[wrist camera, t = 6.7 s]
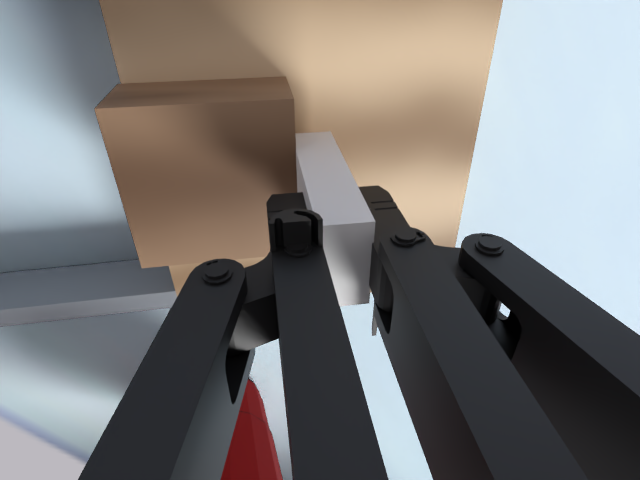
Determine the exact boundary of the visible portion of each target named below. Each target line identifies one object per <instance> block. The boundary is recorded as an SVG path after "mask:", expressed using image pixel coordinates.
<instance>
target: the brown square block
mask: <svg viewBox="0 0 640 480" xmlns="http://www.w3.org/2000/svg"><path fill="white" fill-rule="evenodd" d="M94 110H95V113H96V116H97V120H98V123H99V126H100V130H101V133H102V137H103V140H104V143H105V147H106V150H107V153H108V157H109V160H110V163H111V167H112V170H113V173H114V177H115V180H116V184H117V187H118V190H119V194H120V197H121V200H122V204H123V207H124V210H125V214H126V217H127V221H128V224H129V227H130V231H131V234H132V237H133V241H134V244H135V247H136V251H137V254H138V257H139V261H140V264H141V268H151V267H162V266H172V265H183V264H193V263H203V262H206V261H209V260H213V259H223V258H226V259H231V260H236V259H246V258H257V257H266V256H267V255H268V253H269V252H270V242H269V230H268V219H267V207H266V202H267V201H268V199H269V198H270V196H271V195H272V194H284V193H297V169H296V134H295V109H294V97H293V94H292V92H291V89H290V86H289V84H288V81H287V78H286V76H284V77H261V78H238V79H216V80H193V81H170V82H147V83H125V84H117V85H116V86H115V87H114V88H113V89H112V90H111V91H110V93H109V94H108V95H107V96H106V97H105V98H104V99H103V100H102V101H101V102H100V103H99V104H98V105H97V106H96V107H95V109H94Z"/></svg>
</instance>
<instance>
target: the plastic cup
mask: <svg viewBox="0 0 640 480" xmlns="http://www.w3.org/2000/svg"><path fill="white" fill-rule="evenodd" d="M221 480H283V479H282V474H281V470H280V466H279V462H278V457H277V453H276V449H275V445H274V440H273V436H272V433H271V431H270V429H269V426H268V422H267V417H266V413H265V409H264V404H263V400H262V398H261V396H260V394H259V391H258V389H257V387H256V386H255V384H254V383H253V382H252V381H250V380H249V379H248V381H247V385H246V388H245V392H244V396H243V399H242V403H241V406H240V410H239V414H238V417H237V421H236V425H235V428H234V432H233V436H232V439H231V443H230V447H229V450H228V454H227V458H226V461H225V465H224V469H223V472H222V476H221Z"/></svg>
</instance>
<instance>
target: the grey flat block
mask: <svg viewBox="0 0 640 480" xmlns="http://www.w3.org/2000/svg"><path fill="white" fill-rule="evenodd" d="M176 298H177V295H176V292H175V288H174V284H173V280H172V276H171V273H170V269H169V266H162V267H151V268H141V264H140V261H139V260H129V261H118V262H108V263H98V264H88V265H78V266H68V267H58V268H47V269H37V270H27V271H17V272H7V273H0V327H3V326H12V325H21V324H30V323H38V322H47V321H56V320H65V319H74V318H83V317H92V316H101V315H110V314H118V313H127V312H136V311H145V310H154V309H163V308H171V307H172V306H173V304H174V302H175V300H176Z"/></svg>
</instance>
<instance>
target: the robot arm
mask: <svg viewBox="0 0 640 480" xmlns="http://www.w3.org/2000/svg"><path fill="white" fill-rule="evenodd" d="M295 134H296V169H297V193H284V194H272V195H271V196H270V198H269V199H268V201H267V202H266V207H267V219H268V230H269V242H270V252H269V253H268V255H267V256H266V257H265V258H264V259H263V260H261V261H260V262H258V263H256V264H254V265H251V266H248V267H245V268H244V267H243V265H242V264H241V263H239V262H237V261H235V260H231V259H226V258H223V259H213V260H209V261H206V262H203V263H202V264H200V265H198V266H197V267H195V268H194V269H193V271H192V272H191V273H190V274H189V276H188V278H187V280H186V282H185V284H184V285H183V287H182V289H181V291H180V293H179V295H178V296H177V298H176V300H175V302H174V304H173V306H172V307H171V309H170V311H169V313H168V315H167V317H166V318H165V320H164V322H163V324H162V326H161V328H160V330H159V331H158V333H157V335H156V337H155V339H154V341H153V342H152V344H151V346H150V348H149V350H148V352H147V353H146V355H145V357H144V359H143V361H142V363H141V364H140V366H139V368H138V370H137V372H136V374H135V376H134V377H133V379H132V381H131V383H130V385H129V387H128V388H127V390H126V392H125V394H124V396H123V398H122V399H121V401H120V403H119V405H118V407H117V409H116V410H115V412H114V414H113V416H112V418H111V420H110V422H109V423H108V425H107V427H106V429H105V431H104V433H103V434H102V436H101V438H100V440H99V442H98V444H97V445H96V447H95V449H94V451H93V453H92V455H91V456H90V458H89V460H88V462H87V464H86V466H85V468H84V470H83V471H82V473H81V475H80V477H79V479H78V480H221V476H222V472H223V469H224V465H225V461H226V458H227V454H228V450H229V447H230V443H231V439H232V436H233V432H234V428H235V425H236V421H237V417H238V414H239V410H240V406H241V403H242V399H243V396H244V392H245V388H246V385H247V381H248V377H249V374H250V370H251V366H252V363H253V359H254V355H255V347H258V346H260V345H263V344H265V343H268V342H271V341H273V340H276V339H278V338H279V347H280V357H281V367H282V377H283V387H284V397H285V407H286V417H287V427H288V437H289V447H290V457H291V466H292V476H293V480H388V477H387V473H386V469H385V466H384V462H383V459H382V455H381V452H380V448H379V445H378V441H377V437H376V434H375V430H374V427H373V423H372V420H371V416H370V413H369V409H368V405H367V402H366V398H365V395H364V391H363V388H362V384H361V381H360V377H359V373H358V370H357V366H356V363H355V359H354V356H353V352H352V349H351V345H350V341H349V338H348V334H347V331H346V327H345V324H344V320H343V317H342V313H341V309H340V306H348V305H357V304H366V303H369V298H370V289H371V292H372V294H373V297H374V310H373V321H372V336H374V335H376V331H377V327H378V328H379V331H380V334H381V337H382V339H383V342H384V345H385V348H386V350H387V353H388V356H389V359H390V361H391V364H392V367H393V370H394V372H395V375H396V378H397V381H398V383H399V386H400V389H401V392H402V394H403V397H404V400H405V403H406V405H407V408H408V411H409V414H410V417H411V419H412V422H413V425H414V428H415V430H416V433H417V436H418V439H419V441H420V444H421V447H422V450H423V452H424V455H425V458H426V461H427V463H428V466H429V469H430V472H431V474H432V477H433V480H640V335H638V334H637V333H635V332H634V331H633V330H631V329H630V328H629V327H627V326H626V325H624V324H623V323H622V322H620V321H619V320H617V319H616V318H615V317H613V316H612V315H610V314H609V313H608V312H606V311H605V310H604V309H602V308H601V307H599V306H598V305H597V304H595V303H594V302H592V301H591V300H590V299H588V298H587V297H585V296H584V295H583V294H581V293H580V292H579V291H577V290H576V289H574V288H573V287H572V286H570V285H569V284H567V283H566V282H565V281H563V280H562V279H560V278H559V277H558V276H556V275H555V274H553V273H552V272H551V271H549V270H548V269H547V268H545V267H544V266H542V265H541V264H540V263H538V262H537V261H535V260H534V259H533V258H531V257H530V256H528V255H527V254H526V253H524V252H523V251H522V250H520V249H519V248H517V247H516V246H515V245H513V244H512V243H510V242H509V241H507V240H505V239H503V238H502V237H499V236H495V235H493V234H486V233H479V234H471V235H469V236H467V237H465V238H464V240H463V241H462V245H461V248H454V247H445V246H438V245H434V244H433V242H432V241H431V239H430V238H429V236H428V235H427V234H425V233H424V232H423V231H421V230H419V229H417V228H412V227H410V226H409V224H408V223H407V221H406V219H405V218H404V216H403V214H402V213H401V211H400V210H399V209H398V206H397V205H396V203H395V202H394V200H393V198H392V197H391V195H390V193H389V192H388V191H386V190H385V189H383V188H382V187H380V186H378V185H376V186H362V187H358V185H357V183H356V181H355V179H354V177H353V175H352V173H351V171H350V169H349V167H348V165H347V163H346V161H345V159H344V157H343V155H342V153H341V151H340V149H339V147H338V145H337V143H336V141H335V139H334V137H333V135H332V133H331V131H329V132H312V133H295ZM501 303H503V304H504V305H505V306H506V307H507V308H508V309H510V310H511V311H510V314H509V316H508V317H506V316H504V315H503V314H502V313H501V312H500V311H499V309H500V306H501Z"/></svg>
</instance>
